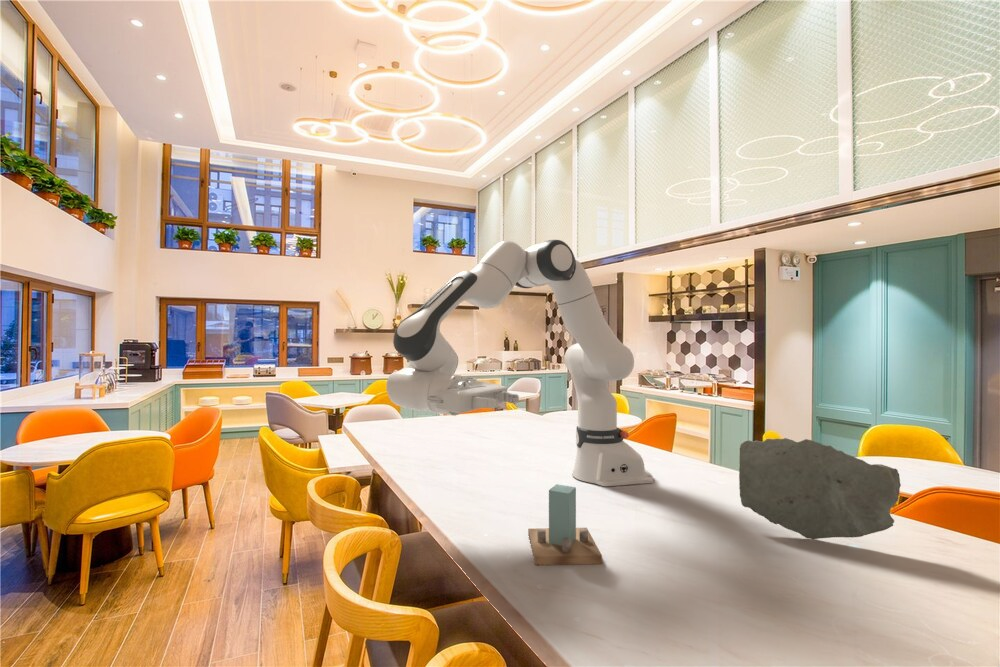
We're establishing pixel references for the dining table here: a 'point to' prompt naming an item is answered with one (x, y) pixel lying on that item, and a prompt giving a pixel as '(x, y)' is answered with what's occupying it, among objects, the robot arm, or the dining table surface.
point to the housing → (564, 548)
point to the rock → (816, 488)
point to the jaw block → (562, 514)
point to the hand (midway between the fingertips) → (507, 401)
